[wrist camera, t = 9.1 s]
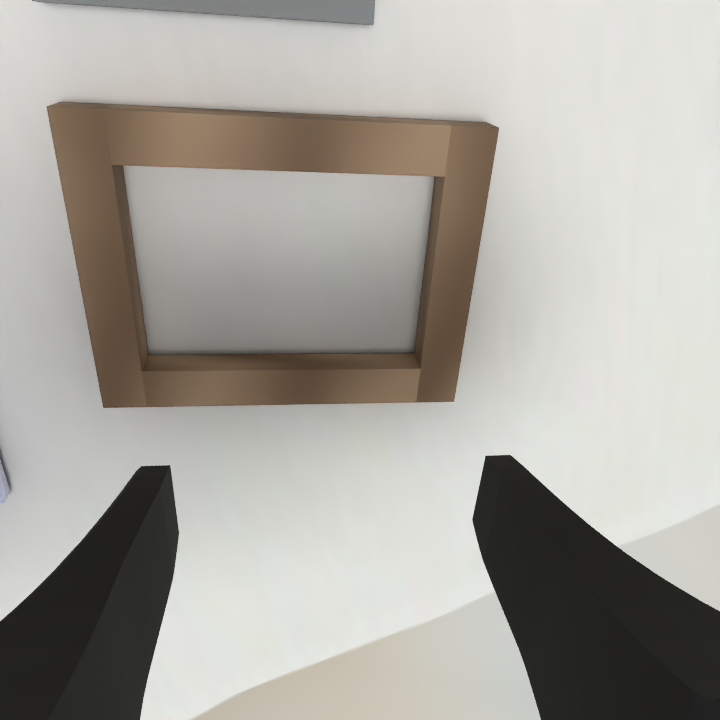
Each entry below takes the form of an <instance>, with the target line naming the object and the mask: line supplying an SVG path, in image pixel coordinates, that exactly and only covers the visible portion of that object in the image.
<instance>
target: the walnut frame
mask: <svg viewBox="0 0 720 720" xmlns="http://www.w3.org/2000/svg"><path fill="white" fill-rule="evenodd" d="M47 111H48V116H49V122H50V127H51V132H52V138H53V143H54V148H55V154H56V159H57V164H58V169H59V175H60V180H61V185H62V191H63V196H64V201H65V207H66V212H67V217H68V222H69V228H70V233H71V238H72V244H73V249H74V254H75V260H76V265H77V270H78V275H79V281H80V286H81V291H82V297H83V302H84V307H85V313H86V318H87V323H88V329H89V334H90V339H91V344H92V350H93V355H94V360H95V366H96V371H97V376H98V382H99V387H100V392H101V397H102V403H103V408H118V407H175V406H233V405H290V404H348V403H405V402H454V398H455V392H456V386H457V380H458V374H459V368H460V362H461V356H462V349H463V343H464V337H465V331H466V325H467V319H468V313H469V307H470V301H471V295H472V289H473V283H474V277H475V271H476V264H477V258H478V252H479V246H480V240H481V234H482V228H483V222H484V216H485V210H486V204H487V198H488V192H489V186H490V179H491V173H492V167H493V161H494V155H495V149H496V143H497V137H498V131H499V128H498V127H496V126H493V125H491V124H489V123H487V122H466V121H445V120H425V119H404V118H383V117H363V116H342V115H321V114H301V113H280V112H259V111H239V110H218V109H198V108H177V107H156V106H136V105H115V104H94V103H74V102H59V103H56V104H53V105H50V106H47ZM123 165H128V166H157V167H185V168H213V169H242V170H270V171H299V172H327V173H355V174H384V175H412V176H435V181H434V190H433V198H432V207H431V215H430V223H429V232H428V240H427V249H426V257H425V266H424V274H423V282H422V291H421V299H420V308H419V316H418V324H417V333H416V341H415V350H414V353H374V354H207V355H148V349H147V341H146V334H145V327H144V319H143V312H142V305H141V297H140V290H139V283H138V275H137V268H136V261H135V253H134V246H133V239H132V231H131V224H130V216H129V209H128V202H127V194H126V187H125V180H124V172H123Z"/></svg>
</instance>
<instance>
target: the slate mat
mask: <svg viewBox="0 0 720 720" xmlns="http://www.w3.org/2000/svg"><path fill="white" fill-rule="evenodd" d="M32 1H37V2H48V3H62V4H77V5H91V6H105V7H120V8H134V9H149V10H163V11H177V12H192V13H206V14H220V15H235V16H249V17H264V18H278V19H292V20H307V21H321V22H335V23H350V24H364V25H373V24H374V7H375V0H32Z"/></svg>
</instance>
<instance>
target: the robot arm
mask: <svg viewBox="0 0 720 720" xmlns="http://www.w3.org/2000/svg"><path fill="white" fill-rule="evenodd" d="M9 493H10V489H9V486H8V483H7V480H6V477H5V473H4V470H3V467H2V464H1V460H0V504H1V503H3V502H5V500H6V499H7V497H8V495H9ZM473 524H474V528H475V532H476V536H477V540H478V544H479V548H480V551H481V555H482V559H483V561H484V564H485V567H486V569H487V572H488V574H489V577H490V579H491V582H492V584H493V587H494V589H495V592H496V594H497V597H498V599H499V601H500V604H501V606H502V609H503V611H504V614H505V616H506V618H507V621H508V623H509V626H510V628H511V630H512V633H513V635H514V638H515V640H516V643H517V645H518V647H519V650H520V653H521V656H522V659H523V661H524V664H525V667H526V670H527V674H528V677H529V680H530V684H531V687H532V690H533V693H534V697H535V700H536V704H537V707H538V710H539V713H540V717H541V720H720V611H718V610H716V609H714V608H712V607H710V606H709V605H707V604H705V603H703V602H701V601H700V600H698V599H696V598H695V597H693V596H691V595H689V594H688V593H686V592H685V591H683V590H681V589H679V588H678V587H676V586H674V585H673V584H671V583H670V582H668V581H666V580H665V579H663V578H662V577H660V576H658V575H657V574H655V573H654V572H652V571H651V570H650V569H648V568H646V567H645V566H644V565H642V564H641V563H639V562H637V561H636V560H635V559H633V558H632V557H631V556H629V555H627V554H626V553H625V552H623V551H622V550H621V549H619V548H618V547H617V546H615V545H614V544H613V543H612V542H610V541H609V540H608V539H606V538H605V537H604V536H603V535H601V534H600V533H599V532H597V531H596V530H595V529H594V528H592V527H591V526H590V525H589V524H588V523H586V522H585V521H584V520H583V519H582V518H580V517H579V516H578V515H577V514H576V513H574V512H573V511H572V510H571V509H570V508H569V507H568V506H566V505H565V504H564V503H563V502H562V501H561V500H560V499H558V498H557V497H556V496H555V495H554V494H553V493H552V492H551V491H550V490H548V489H547V488H546V487H545V486H544V485H543V484H542V483H541V482H540V481H539V480H538V479H536V478H535V477H534V476H533V475H532V474H531V473H530V472H529V471H528V470H527V469H526V468H525V467H523V466H522V465H521V464H520V463H519V462H518V461H517V460H516V459H514V458H513V457H512V456H511V455H499V456H486V457H485V462H484V467H483V472H482V476H481V481H480V486H479V491H478V496H477V500H476V505H475V510H474V515H473ZM178 536H179V530H178V523H177V515H176V507H175V499H174V492H173V484H172V476H171V468H170V465H169V466H141V467H140V468H139V469H138V470H137V471H136V472H135V474H134V475H133V476H132V478H131V479H130V480H129V482H128V483H127V485H126V486H125V487H124V489H123V490H122V491H121V493H120V494H119V495H118V497H117V498H116V499H115V500H114V502H113V503H112V504H111V506H110V507H109V508H108V509H107V511H106V512H105V513H104V514H103V516H102V517H101V518H100V519H99V520H98V522H97V523H96V524H95V525H94V526H93V528H92V529H91V530H90V531H89V532H88V534H87V535H86V536H85V537H84V538H83V540H82V541H81V542H80V543H79V544H78V545H77V546H76V547H75V548H74V550H73V551H72V552H71V553H70V554H69V555H68V556H67V557H66V558H65V559H64V560H63V561H62V563H61V564H60V565H59V566H58V567H57V568H56V569H55V570H54V571H53V572H52V573H51V574H50V575H49V576H48V577H47V578H46V579H45V580H44V581H43V582H42V583H41V584H40V585H39V586H38V587H37V588H36V589H35V590H34V591H33V592H32V593H31V594H30V595H29V596H28V597H27V598H26V599H25V600H24V601H23V602H21V603H20V604H19V605H18V606H17V607H16V608H15V609H14V610H13V611H12V612H11V613H9V614H8V615H7V616H6V617H5V618H4V619H2V620H1V621H0V720H140V715H141V709H142V703H143V697H144V692H145V688H146V683H147V678H148V674H149V670H150V666H151V662H152V658H153V654H154V651H155V647H156V643H157V639H158V635H159V631H160V627H161V623H162V619H163V616H164V612H165V608H166V604H167V600H168V596H169V592H170V588H171V584H172V580H173V574H174V567H175V560H176V552H177V544H178Z"/></svg>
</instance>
